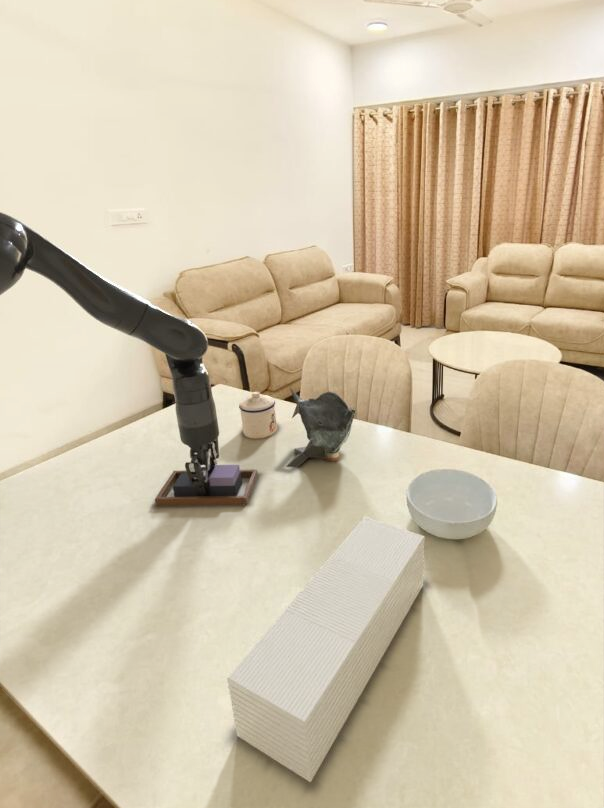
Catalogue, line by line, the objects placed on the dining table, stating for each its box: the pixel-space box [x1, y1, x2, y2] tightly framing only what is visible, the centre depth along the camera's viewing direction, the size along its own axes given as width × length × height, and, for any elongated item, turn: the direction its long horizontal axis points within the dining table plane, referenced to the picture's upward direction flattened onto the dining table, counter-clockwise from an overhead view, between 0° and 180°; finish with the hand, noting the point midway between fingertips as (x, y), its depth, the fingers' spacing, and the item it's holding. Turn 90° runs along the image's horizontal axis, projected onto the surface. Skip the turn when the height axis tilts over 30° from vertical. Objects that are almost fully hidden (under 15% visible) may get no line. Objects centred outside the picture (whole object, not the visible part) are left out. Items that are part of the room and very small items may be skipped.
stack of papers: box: [226, 516, 425, 783], centre depth 69 cm, size 32×11×11 cm, turn 152°
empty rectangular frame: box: [154, 469, 259, 507], centre depth 107 cm, size 19×11×2 cm, turn 90°
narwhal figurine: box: [285, 386, 356, 469], centre depth 115 cm, size 14×15×18 cm
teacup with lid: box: [238, 391, 278, 439], centre depth 131 cm, size 12×9×12 cm
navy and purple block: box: [172, 464, 243, 497], centre depth 106 cm, size 5×13×5 cm, turn 90°
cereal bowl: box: [405, 468, 498, 540], centre depth 96 cm, size 17×17×7 cm
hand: (208, 488), depth 107 cm, fingers closed on navy and purple block, 5 cm apart
